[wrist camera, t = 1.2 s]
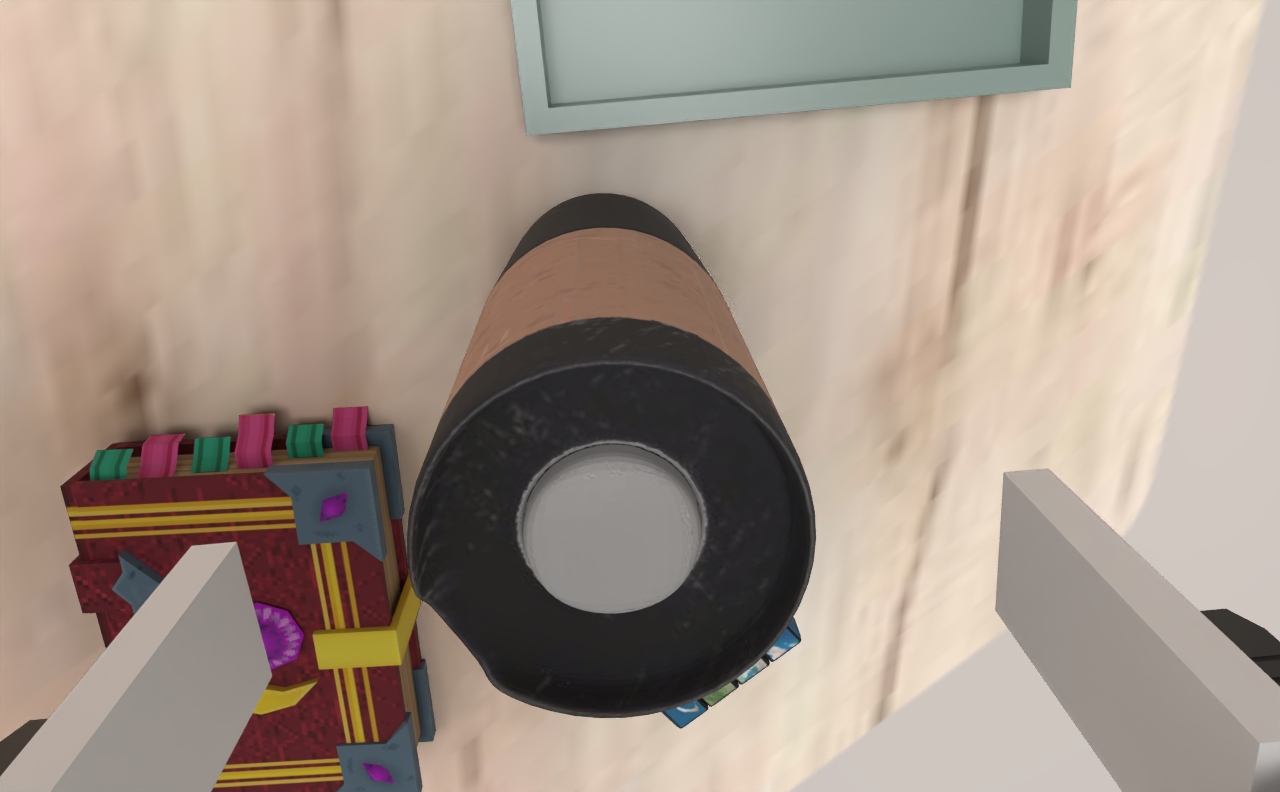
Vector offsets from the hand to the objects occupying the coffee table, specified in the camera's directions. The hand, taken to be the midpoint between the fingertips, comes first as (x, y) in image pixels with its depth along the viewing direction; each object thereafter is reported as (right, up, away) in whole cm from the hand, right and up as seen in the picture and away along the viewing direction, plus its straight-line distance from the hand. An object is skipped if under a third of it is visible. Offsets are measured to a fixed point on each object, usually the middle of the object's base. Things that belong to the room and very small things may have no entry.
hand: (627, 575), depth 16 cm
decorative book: (-15, -5, +24) cm, 28 cm away
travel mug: (-1, +7, +20) cm, 21 cm away
